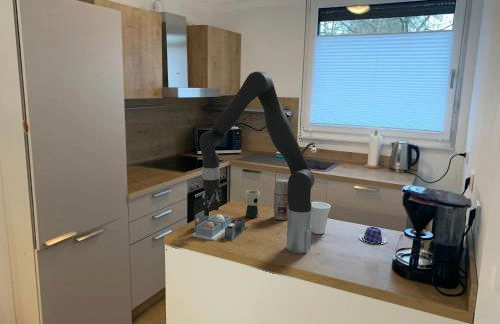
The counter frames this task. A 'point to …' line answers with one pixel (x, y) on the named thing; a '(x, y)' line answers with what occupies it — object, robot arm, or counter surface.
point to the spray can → (281, 200)
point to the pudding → (373, 235)
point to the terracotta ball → (208, 225)
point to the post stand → (234, 230)
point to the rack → (216, 231)
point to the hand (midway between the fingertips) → (211, 212)
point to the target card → (200, 218)
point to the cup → (319, 216)
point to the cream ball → (219, 218)
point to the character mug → (252, 202)
